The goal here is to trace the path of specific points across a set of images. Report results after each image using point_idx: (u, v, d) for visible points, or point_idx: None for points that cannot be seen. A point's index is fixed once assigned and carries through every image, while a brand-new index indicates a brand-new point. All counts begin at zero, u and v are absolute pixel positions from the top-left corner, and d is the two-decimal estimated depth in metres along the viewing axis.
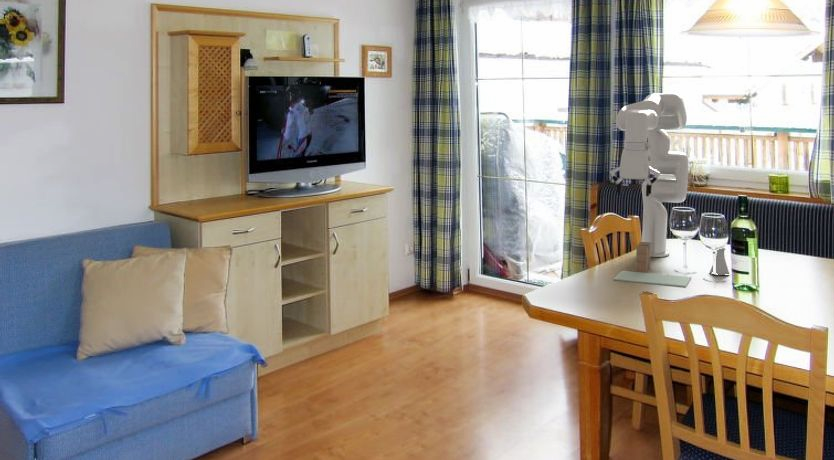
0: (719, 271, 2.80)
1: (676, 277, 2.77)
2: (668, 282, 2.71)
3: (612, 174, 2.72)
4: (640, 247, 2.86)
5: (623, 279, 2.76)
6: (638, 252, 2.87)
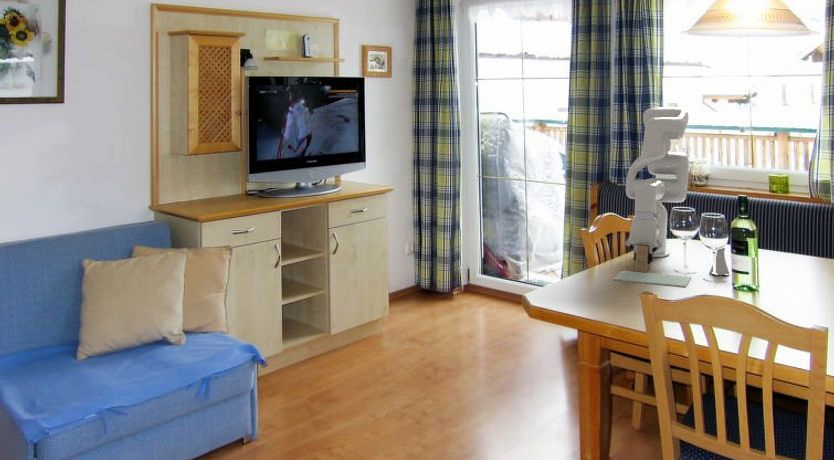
0: (719, 271, 2.80)
1: (676, 277, 2.77)
2: (668, 282, 2.71)
3: (628, 244, 2.92)
4: (640, 247, 2.86)
5: (623, 279, 2.76)
6: (638, 252, 2.87)
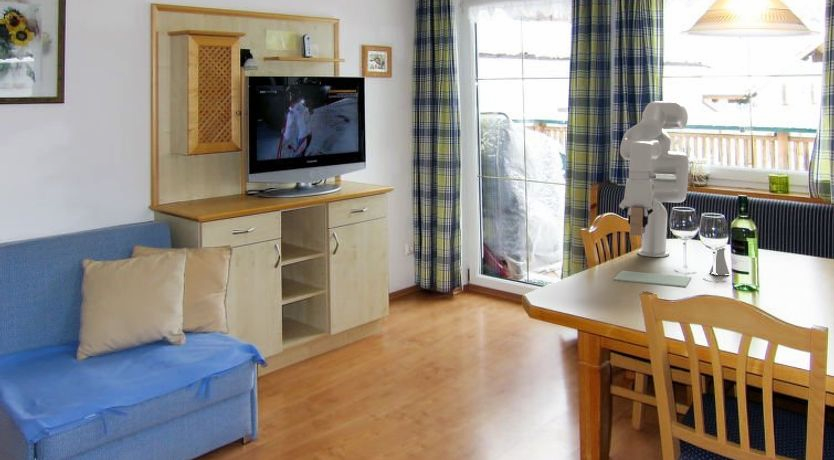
0: (719, 271, 2.80)
1: (676, 277, 2.77)
2: (668, 282, 2.71)
3: (622, 207, 2.77)
4: (635, 208, 2.72)
5: (623, 279, 2.76)
6: (633, 214, 2.72)
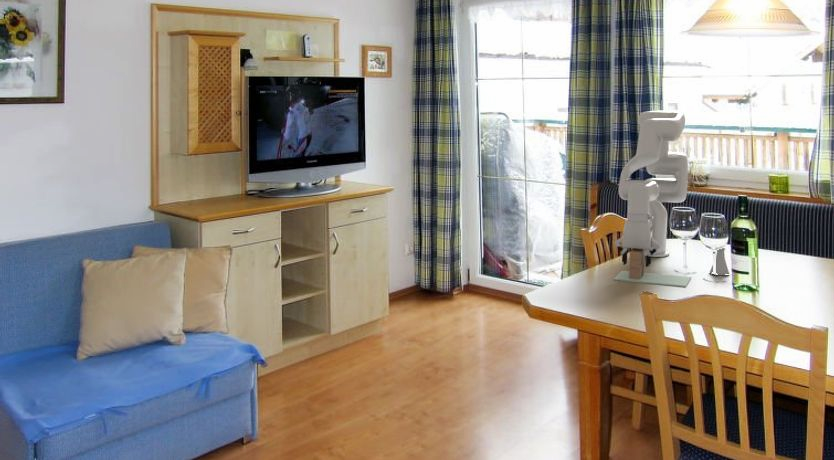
0: (719, 271, 2.80)
1: (676, 277, 2.77)
2: (668, 282, 2.71)
3: (617, 245, 2.80)
4: (633, 252, 2.75)
5: (623, 279, 2.76)
6: (631, 258, 2.75)
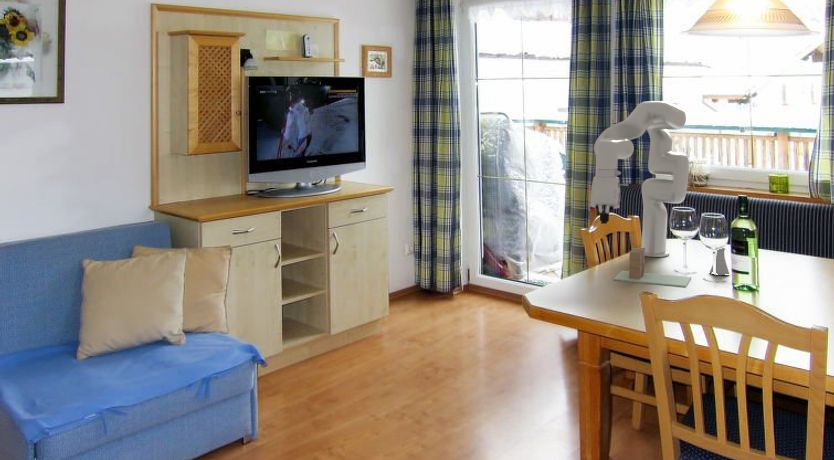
0: (719, 271, 2.80)
1: (676, 277, 2.77)
2: (668, 282, 2.71)
3: (594, 205, 2.81)
4: (633, 252, 2.75)
5: (623, 279, 2.76)
6: (631, 258, 2.75)
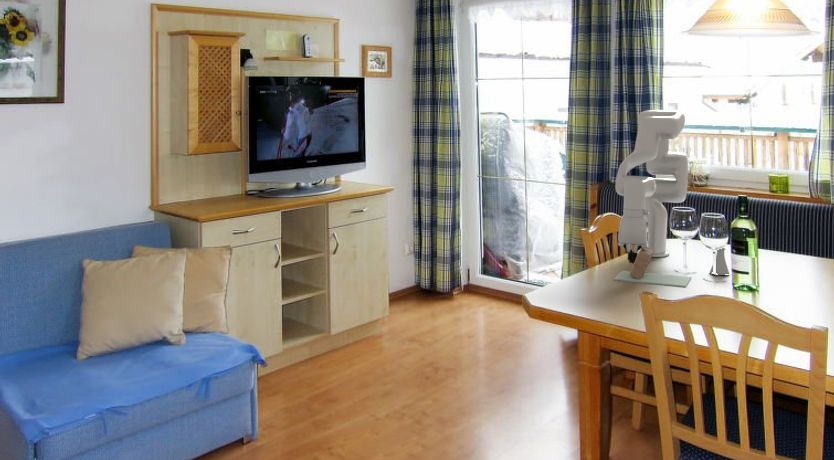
0: (719, 271, 2.80)
1: (676, 277, 2.77)
2: (668, 282, 2.71)
3: (621, 245, 2.80)
4: (643, 253, 2.73)
5: (623, 279, 2.76)
6: (639, 257, 2.74)
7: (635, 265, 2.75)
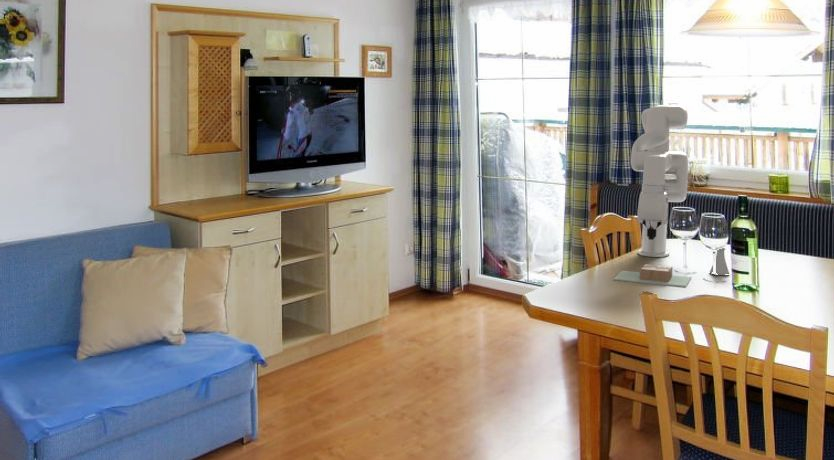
0: (719, 271, 2.80)
1: (676, 277, 2.77)
2: (668, 282, 2.71)
3: (640, 221, 2.75)
4: (667, 275, 2.71)
5: (623, 279, 2.76)
6: (661, 273, 2.72)
7: (652, 271, 2.73)
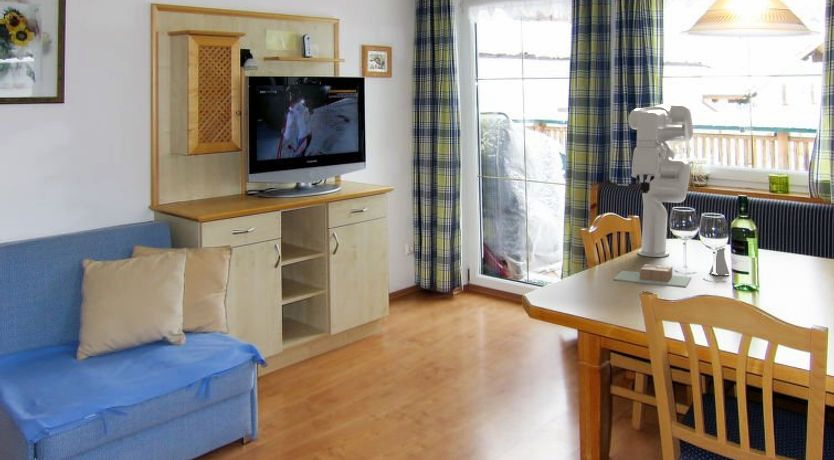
0: (719, 271, 2.80)
1: (676, 277, 2.77)
2: (668, 282, 2.71)
3: (634, 176, 2.90)
4: (667, 275, 2.71)
5: (623, 279, 2.76)
6: (661, 273, 2.72)
7: (652, 271, 2.73)
